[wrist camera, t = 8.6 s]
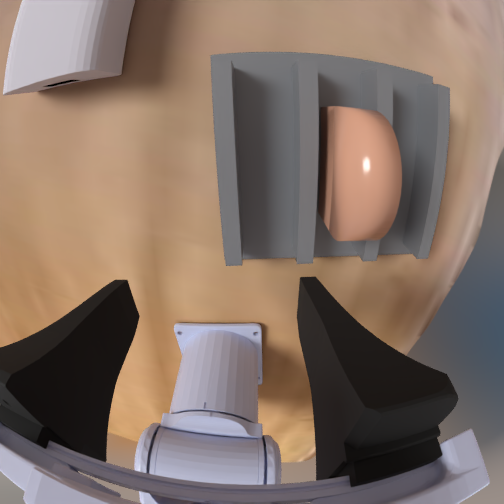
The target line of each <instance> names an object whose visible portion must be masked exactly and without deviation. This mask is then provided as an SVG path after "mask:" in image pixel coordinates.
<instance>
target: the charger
mask: <svg viewBox="0 0 504 504" xmlns="http://www.w3.org/2000/svg"><path fill="white" fill-rule="evenodd" d="M134 4H135V0H22V3H21V6H20V9H19V13H18V16H17V20H16V23H15V27H14V31H13V35H12V39H11V44H10V49H9V54H8V60H7V66H6V73H5V81H4V91H3V95H11V94H20V93H30V92H36V91H41V90H45V89H49V88H53V87H57V86H61V85H66V84H71V83H76V82H81V81H86V80H92V79H99V78H106V77H113V76H119V75H121V74H122V66H123V59H124V53H125V47H126V41H127V35H128V30H129V25H130V21H131V16H132V12H133V8H134ZM67 80H80V81H75V82H70V83H65V84H61V85H57V86H53V87H43V86H47V85H51V84H55V83H59V82H63V81H67Z"/></svg>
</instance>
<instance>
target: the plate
mask: <svg viewBox="0 0 504 504" xmlns="http://www.w3.org/2000/svg"><path fill="white" fill-rule="evenodd" d="M401 188H402V164H401V156H400V150H399V146H398V142H397V139H396V136H395V133H394V131H393V128H392V126H391V125H390V123H389V121H388V120H387V119H386V117H385V116H384V115H383V114H381V113H380V112H378V111H375V110H368V109H360V108H352V107H341V106H330V107H321V155H320V187H319V208H318V213H319V215H320V216H321V218H322V220H323V221H324V223H325V225H326V227H327V228H328V230H329V231H330V233H331V235H332V237H333V238H334V239H335V240H337V241H373V240H379V239H381V238H382V237H384V236H385V235H386V234H387V232H388V231H389V229H390V228H391V226H392V224H393V222H394V219H395V217H396V214H397V210H398V207H399V202H400V196H401Z"/></svg>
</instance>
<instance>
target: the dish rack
mask: <svg viewBox="0 0 504 504" xmlns="http://www.w3.org/2000/svg"><path fill="white" fill-rule="evenodd" d="M211 77H212V98H213V116H214V133H215V148H216V163H217V176H218V189H219V201H220V213H221V225H222V236H223V246H224V257H225V261H226V266H237V265H242V260H243V259H264V258H296V262H297V264H306V263H313V257H330V256H360V258H361V259H362V261H376V260H377V255H388V254H413V255H414V256H415V257H416V258H417V259H425V258H428V256H429V252H430V248H431V244H432V240H433V236H434V232H435V227H436V223H437V218H438V213H439V208H440V203H441V197H442V191H443V185H444V178H445V170H446V162H447V152H448V139H449V120H450V88H448V87H445V86H442V85H439V84H433V77H432V76H429V75H426V74H423V73H419V72H416V71H412V70H408V69H404V68H401V67H396V66H392V65H388V64H383V63H378V62H373V61H368V60H362V59H356V58H349V57H342V56H334V55H324V54H313V53H296V52H246V53H229V54H217V55H211ZM330 106H341V107H352V108H360V109H368V110H375V111H378V112H380V113H381V114H383V115H384V116H385V117H386V119H387V120H388V121H389V123H390V125H391V126H392V128H393V131H394V133H395V136H396V139H397V142H398V146H399V150H400V156H401V164H402V188H401V196H400V202H399V207H398V210H397V214H396V217H395V219H394V222H393V224H392V226H391V228H390V229H389V231H388V232H387V234H386V235H385V236H384V237H382V238H381V239H379V240H373V241H337V240H335V239H334V238H333V237H332V235H331V233H330V231H329V230H328V228H327V227H326V225H325V223H324V221H323V220H322V218H321V216H320V215H319V213H318V208H319V187H320V155H321V107H330Z"/></svg>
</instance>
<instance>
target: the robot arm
mask: <svg viewBox="0 0 504 504" xmlns="http://www.w3.org/2000/svg"><path fill="white" fill-rule="evenodd" d="M138 320H139V313H138V311H137V308H136V305H135V302H134V299H133V296H132V293H131V290H130V287H129V284H128V281H127V280H114V281H113V282H111V283H109V284H108V285H106V286H105V287H103V288H102V289H101V290H99V291H98V292H97V293H95V294H94V295H93V296H91V297H90V298H89V299H87V300H86V301H85V302H83V303H82V304H81V305H79V306H78V307H76V308H75V309H74V310H72V311H71V312H69V313H68V314H67V315H65V316H64V317H62V318H61V319H59V320H58V321H56V322H55V323H53V324H51V325H50V326H48V327H46V328H44V329H43V330H41V331H39V332H37V333H35V334H33V335H31V336H29V337H27V338H25V339H22V340H20V341H18V342H15V343H13V344H10V345H7V346H4V347H1V348H0V471H1V472H2V473H3V474H4V475H5V476H7V477H8V478H9V479H10V480H11V481H12V482H14V483H15V484H16V485H17V486H19V487H20V488H21V489H23V490H24V491H25V493H24V497H23V499H24V501H25V503H26V504H140V503H136V502H133V501H130V500H126V499H123V498H120V496H121V495H120V494H119V493H118V492H115V491H113V490H111V489H108V488H106V487H105V486H103V485H101V484H99V483H97V482H96V481H94V480H93V479H91V478H88V477H86V476H84V475H82V474H80V473H79V472H78V471H80V472H82V473H85V474H87V475H90V476H92V477H95V478H98V479H101V480H104V481H106V482H109V483H113V484H116V485H119V486H122V487H126V488H129V489H133V490H137V491H139V494H140V502H141V504H297V503H298V504H458V503H460V502H462V501H463V500H465V499H467V498H468V497H470V496H472V495H473V494H475V493H476V492H478V491H479V490H481V489H483V488H484V487H486V486H487V485H489V483H490V480H489V476H488V473H487V470H486V467H485V464H484V461H483V457H482V455H481V452H480V449H479V446H478V443H477V441H476V438H475V436H474V433H473V430H472V429H468V430H466V431H464V432H462V433H459V434H458V435H455V436H453V437H451V438H449V439H447V440H445V441H443V442H441V443H440V444H439V442H438V439H437V437H438V436H439V435H440V430H439V427H438V425H439V424H440V423H441V422H442V421H443V420H444V419H445V418H446V417H447V416H448V414H449V413H450V412H451V411H452V410H453V409H454V407H455V406H456V403H457V401H458V395H457V393H456V392H455V389H454V387H453V385H452V383H451V381H450V379H449V377H448V376H447V374H445V373H442V372H440V371H438V370H435V369H433V368H430V367H428V366H425V365H423V364H421V363H419V362H417V361H415V360H413V359H411V358H409V357H407V356H405V355H404V354H402V353H400V352H398V351H397V350H395V349H394V348H392V347H391V346H389V345H387V344H386V343H384V342H383V341H381V340H380V339H379V338H377V337H376V336H375V335H373V334H372V333H371V332H369V331H368V330H367V329H366V328H364V327H363V326H362V325H361V324H360V323H358V322H357V321H356V320H355V319H354V318H353V317H352V316H351V315H350V314H349V313H348V312H347V311H346V310H345V309H344V308H343V307H342V306H341V305H340V304H339V303H338V302H337V301H336V300H335V299H334V297H333V296H332V295H331V294H330V293H329V292H328V291H327V290H326V288H325V287H324V286H323V285H322V284H321V282H320V281H319V280H318V279H317V278H316V277H300V285H299V298H298V311H297V321H298V330H299V338H300V343H301V347H302V351H303V356H304V360H305V364H306V369H307V373H308V377H309V382H310V387H311V394H312V403H313V414H314V427H315V444H316V481H309V482H300V483H287V484H281V455H280V449H279V446H278V444H277V442H276V441H274V440H273V438H272V437H271V436H269V435H263V436H262V424H259V423H258V385H261V384H262V332H261V325H260V324H257V323H247V324H199V323H176V324H175V325H174V331H175V334H176V337H177V341H178V344H179V347H180V350H181V353H182V360H181V364H180V368H179V373H178V377H177V381H176V385H175V390H174V394H173V399H172V403H171V408H170V412H169V413H163V416H162V421H161V424H160V423H152V424H151V425H150V426H149V427H148V428H146V429H145V430H144V431H143V433H142V434H141V436H140V439H139V442H138V445H137V449H136V455H135V470H131V469H127V468H123V467H120V466H116V465H113V464H109V463H106V447H107V431H108V421H109V414H110V408H111V403H112V398H113V394H114V389H115V385H116V382H117V379H118V376H119V373H120V370H121V368H122V365H123V363H124V360H125V358H126V355H127V353H128V351H129V348H130V346H131V343H132V341H133V338H134V335H135V332H136V328H137V324H138ZM179 331H180V332H179ZM254 332H258V333H254ZM306 502H310V503H306Z"/></svg>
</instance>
